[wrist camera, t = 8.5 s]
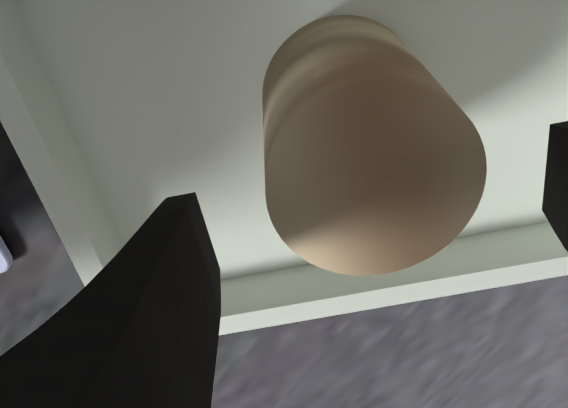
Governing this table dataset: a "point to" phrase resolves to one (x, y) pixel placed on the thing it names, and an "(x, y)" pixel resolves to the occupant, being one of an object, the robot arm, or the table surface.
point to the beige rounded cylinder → (364, 150)
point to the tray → (250, 143)
